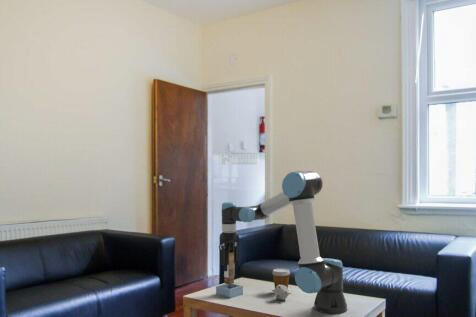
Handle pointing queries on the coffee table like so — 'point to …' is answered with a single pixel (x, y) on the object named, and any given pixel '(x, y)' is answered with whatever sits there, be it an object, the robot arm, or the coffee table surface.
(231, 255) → the long wooden beam
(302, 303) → the coffee table surface
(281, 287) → the game die
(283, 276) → the disposable coffee cup
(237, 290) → the light blue square bin
